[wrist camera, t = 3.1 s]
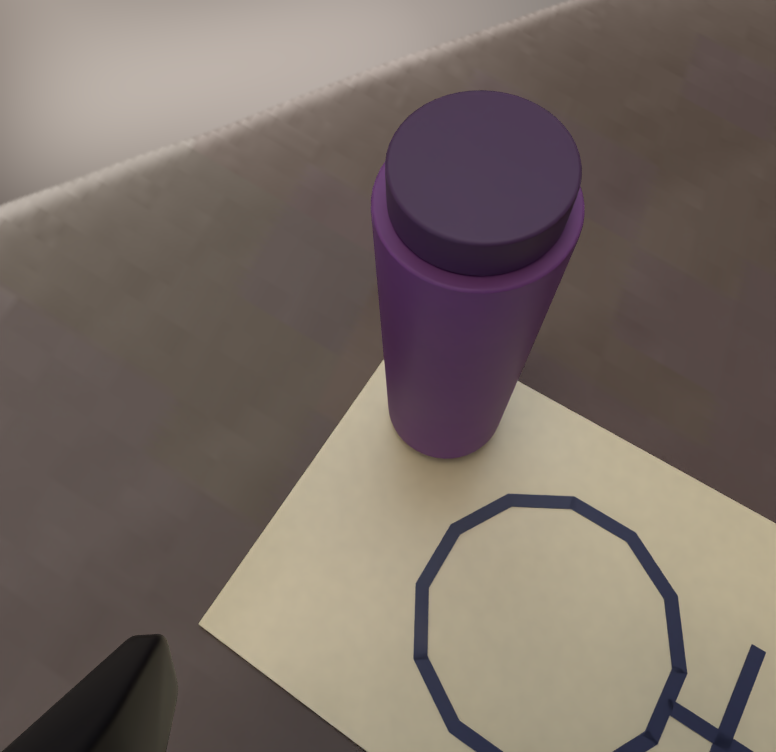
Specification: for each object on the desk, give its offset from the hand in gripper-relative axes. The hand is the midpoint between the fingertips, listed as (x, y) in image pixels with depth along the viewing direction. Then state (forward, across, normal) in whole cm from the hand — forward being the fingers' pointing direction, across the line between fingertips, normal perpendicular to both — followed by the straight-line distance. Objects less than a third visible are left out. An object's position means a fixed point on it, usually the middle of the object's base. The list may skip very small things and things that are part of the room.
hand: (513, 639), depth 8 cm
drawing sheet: (+9, -5, +10) cm, 14 cm away
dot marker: (+14, 0, +4) cm, 15 cm away
